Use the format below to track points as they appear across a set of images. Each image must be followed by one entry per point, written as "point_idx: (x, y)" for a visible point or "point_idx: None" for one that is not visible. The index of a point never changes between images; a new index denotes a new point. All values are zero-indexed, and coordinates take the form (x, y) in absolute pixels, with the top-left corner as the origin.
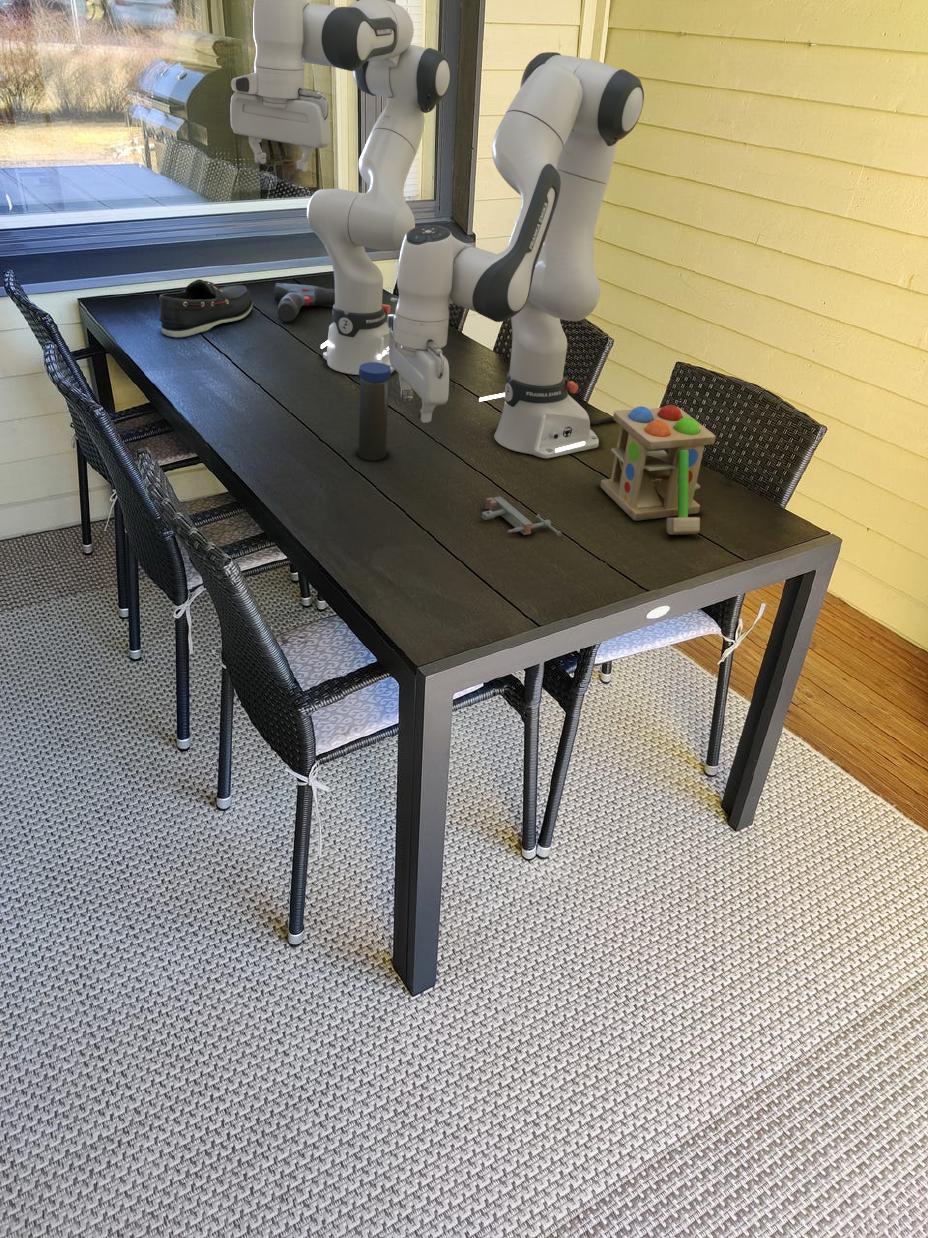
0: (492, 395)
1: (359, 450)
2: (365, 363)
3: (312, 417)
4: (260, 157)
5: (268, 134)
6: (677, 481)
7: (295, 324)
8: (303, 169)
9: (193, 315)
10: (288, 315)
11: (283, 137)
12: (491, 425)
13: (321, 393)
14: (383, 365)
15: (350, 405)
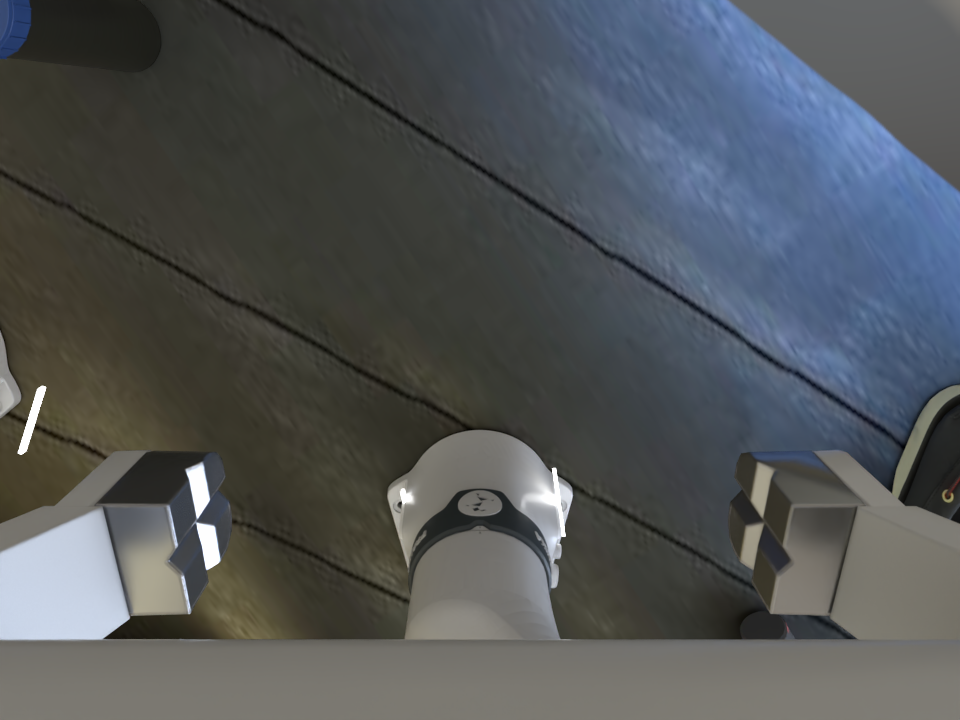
0: (30, 422)
1: (136, 3)
2: (4, 14)
3: (380, 152)
4: (775, 476)
5: (693, 704)
6: None
7: (731, 614)
8: (110, 460)
9: (945, 451)
10: (755, 623)
11: (204, 696)
12: (39, 365)
13: (450, 297)
14: None
15: (352, 274)
